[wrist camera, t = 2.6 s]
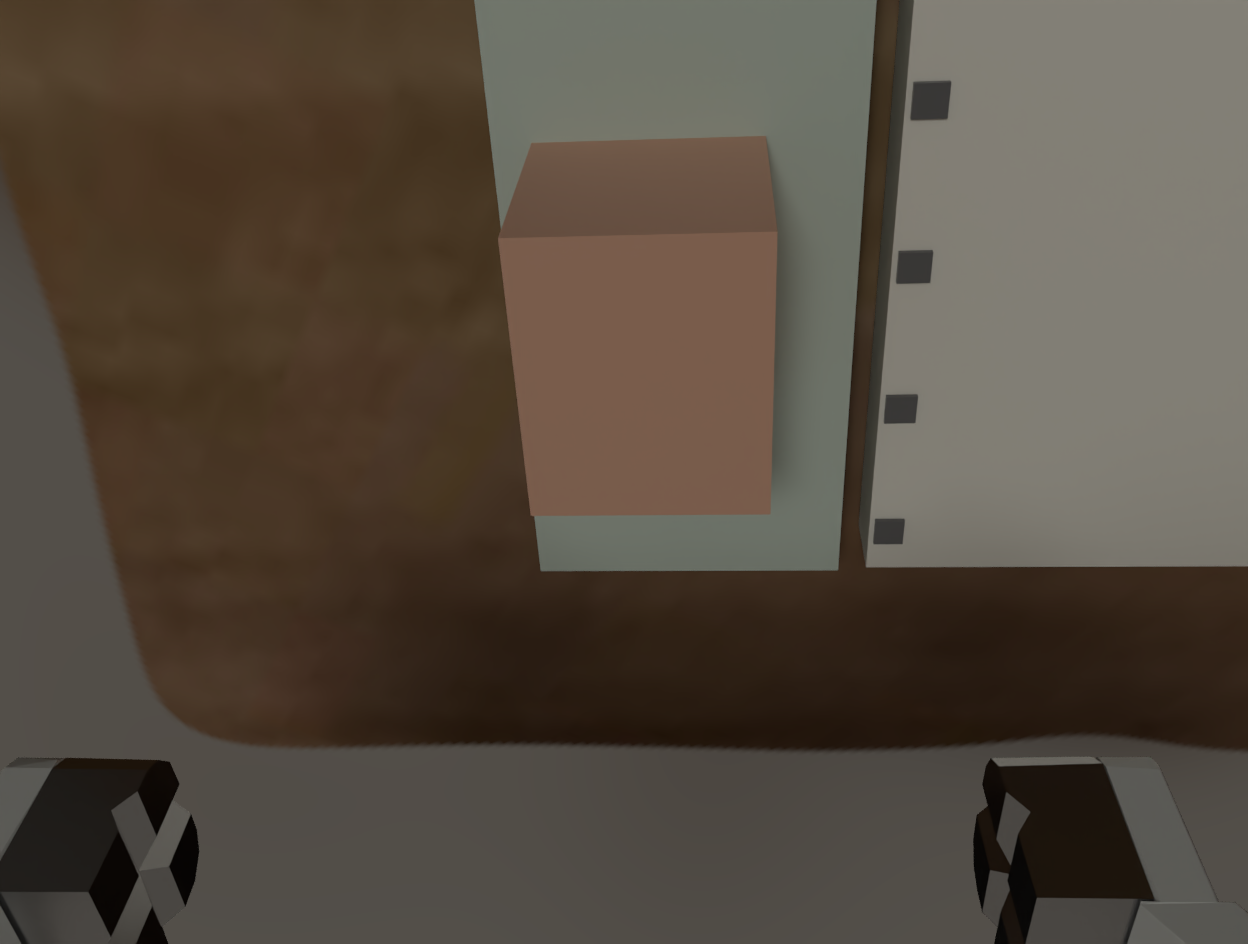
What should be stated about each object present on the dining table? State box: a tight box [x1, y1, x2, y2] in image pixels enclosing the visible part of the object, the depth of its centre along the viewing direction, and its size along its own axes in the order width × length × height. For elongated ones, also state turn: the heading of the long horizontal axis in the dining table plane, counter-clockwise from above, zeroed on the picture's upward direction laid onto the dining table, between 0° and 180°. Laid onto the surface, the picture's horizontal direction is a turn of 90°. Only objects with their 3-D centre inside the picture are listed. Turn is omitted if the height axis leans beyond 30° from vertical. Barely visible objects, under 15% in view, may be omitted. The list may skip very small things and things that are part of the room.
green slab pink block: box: [474, 0, 877, 571], centre depth 21 cm, size 6×14×6 cm, turn 3°
